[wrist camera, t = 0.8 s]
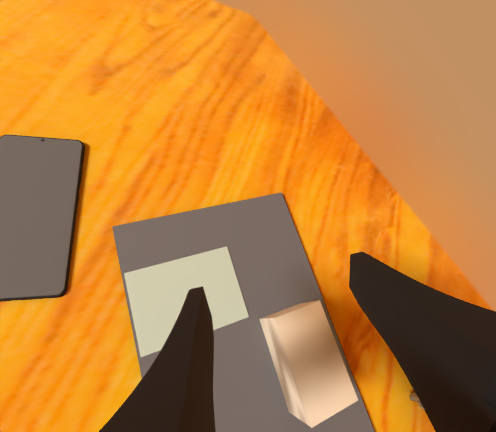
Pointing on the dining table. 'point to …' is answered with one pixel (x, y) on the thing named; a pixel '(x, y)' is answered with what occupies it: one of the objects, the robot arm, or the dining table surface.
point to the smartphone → (37, 214)
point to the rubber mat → (227, 302)
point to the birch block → (308, 362)
